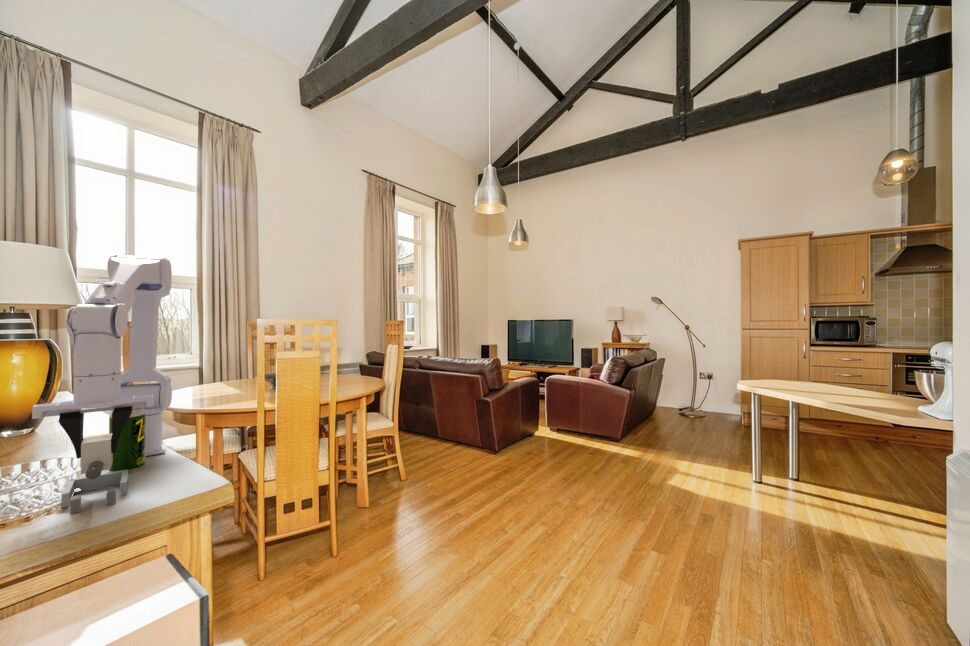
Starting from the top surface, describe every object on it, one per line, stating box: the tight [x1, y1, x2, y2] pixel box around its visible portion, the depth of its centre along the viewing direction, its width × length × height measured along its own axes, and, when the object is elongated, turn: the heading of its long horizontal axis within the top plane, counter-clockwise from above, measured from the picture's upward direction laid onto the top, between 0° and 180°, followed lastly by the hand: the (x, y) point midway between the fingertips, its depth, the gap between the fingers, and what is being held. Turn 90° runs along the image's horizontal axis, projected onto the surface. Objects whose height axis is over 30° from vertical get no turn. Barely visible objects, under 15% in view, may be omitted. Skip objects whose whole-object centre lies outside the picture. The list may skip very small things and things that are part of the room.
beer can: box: [108, 407, 146, 474], centre depth 77 cm, size 5×5×12 cm
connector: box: [80, 433, 113, 480], centre depth 65 cm, size 10×4×5 cm, turn 41°
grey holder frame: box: [61, 469, 129, 515], centre depth 66 cm, size 11×8×2 cm
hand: (97, 454), depth 66 cm, fingers closed on connector, 3 cm apart
